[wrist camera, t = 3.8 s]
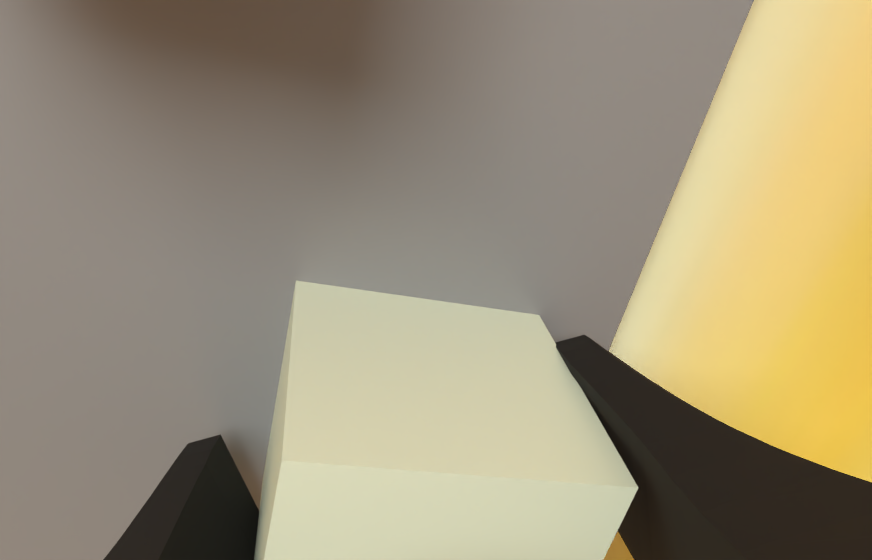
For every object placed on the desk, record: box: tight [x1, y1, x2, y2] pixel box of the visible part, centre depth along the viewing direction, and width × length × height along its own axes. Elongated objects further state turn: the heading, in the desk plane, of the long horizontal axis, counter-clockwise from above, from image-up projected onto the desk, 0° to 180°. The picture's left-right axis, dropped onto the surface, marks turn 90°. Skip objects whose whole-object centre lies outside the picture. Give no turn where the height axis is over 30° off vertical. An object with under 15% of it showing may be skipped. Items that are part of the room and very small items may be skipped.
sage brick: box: [254, 281, 638, 560], centre depth 11 cm, size 5×5×4 cm
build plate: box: [0, 0, 754, 560], centre depth 10 cm, size 20×19×1 cm
